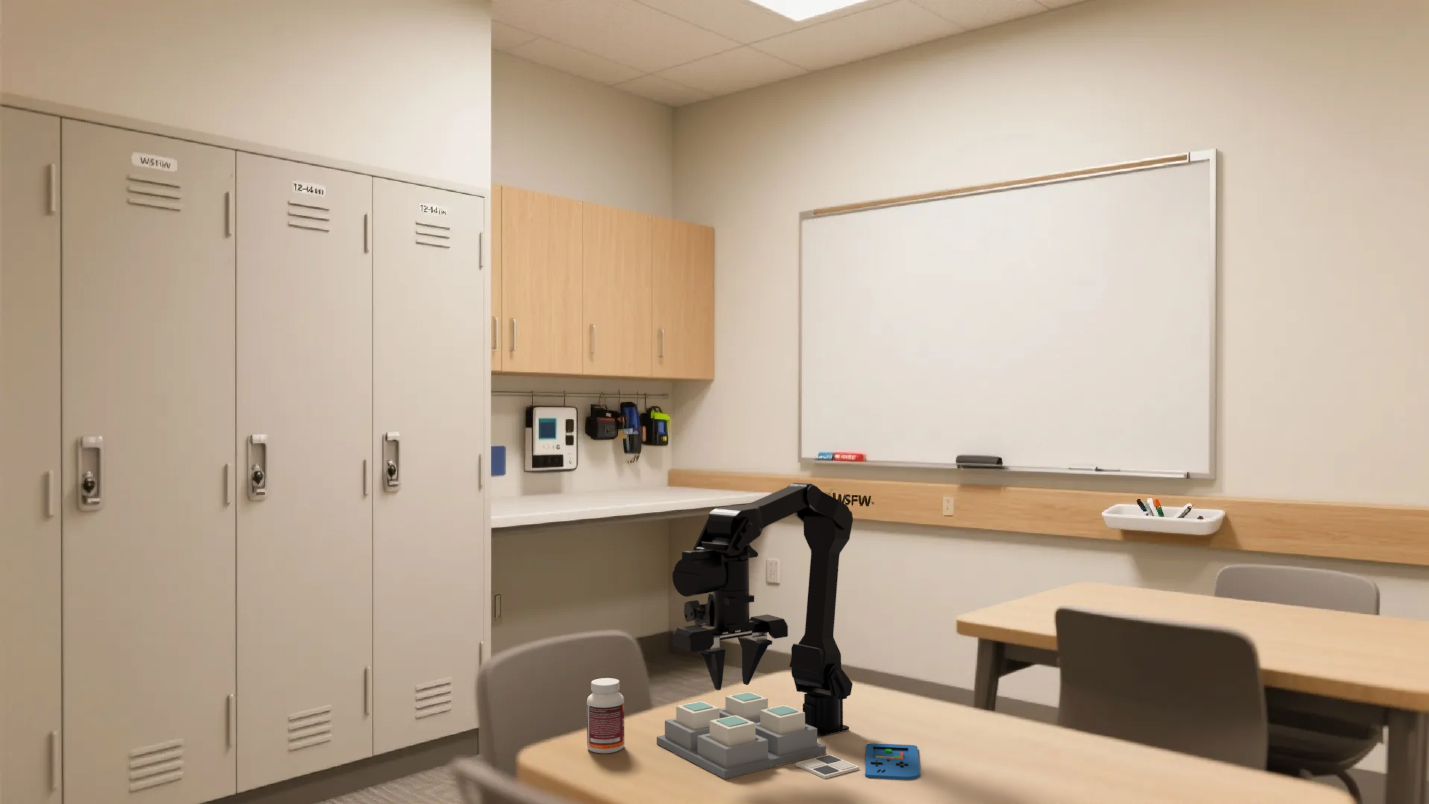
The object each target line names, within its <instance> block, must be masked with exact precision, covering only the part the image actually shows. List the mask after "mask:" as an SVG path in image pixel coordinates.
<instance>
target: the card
mask: <svg viewBox="0 0 1429 804" xmlns="http://www.w3.org/2000/svg"><path fill="white" fill-rule="evenodd" d="M795 766H797V767H798V768H800V769H802V770H805V771H807V772H809V773H812V774H814V775H816V776H818V777H819V778H823V779H824V780H825V779H828V778H832V777H836V776H839V775H843V774H847V773H850V772H855V771H859V770H860V766H858V765H856V764H853V763H851V762H849V761H846V760H844V759H843V758H842V759H841V758H839V757H837V756H835V755H832V754H824V755H820V756H816V757H812V758H808V759H806V760H805V759H804V760H803V761H801V760H800V761H796V762H795Z"/></svg>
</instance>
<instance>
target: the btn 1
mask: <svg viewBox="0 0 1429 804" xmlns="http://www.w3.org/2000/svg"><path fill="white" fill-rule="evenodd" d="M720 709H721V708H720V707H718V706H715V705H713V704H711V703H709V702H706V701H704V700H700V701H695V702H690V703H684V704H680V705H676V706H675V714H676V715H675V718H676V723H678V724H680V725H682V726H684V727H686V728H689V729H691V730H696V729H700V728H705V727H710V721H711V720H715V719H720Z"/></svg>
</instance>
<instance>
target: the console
mask: <svg viewBox="0 0 1429 804" xmlns="http://www.w3.org/2000/svg"><path fill="white" fill-rule="evenodd" d="M730 716H733V715H731V714H728V713H726V707H724V708H720V718H725V717H730ZM747 720H749V721H751V722H754V723H755V741H751V742H746V743H742V744H738V745H733V746H729V747H727V746H725V745H723V744H721V743H718V742H716V741H714V740H712V739H710V727H705V728H700V729H696V730H691V729H689V728H686V727H684V726H682V725H680V724H678V723H676V717H673V718H670V719H664V735H659V736H656V745H658V746H660V747H662V748H664V749H666V750H668V751H669V752H671V753H673V754H675V755H677V756H679V757H681V758H683V759H685V760H686V761H689V762H691V763H693V764H695V765H697V766H698V767H700V768H702V769H704V770H706V771H708V772H710V773H712V774H713V775H716V776H717V777H720V778H722V779H724V780H727V779H730V778H735V777H739V776H743V775H747V774H751V773H754V772H758V771H763V770H767V769H771V768H775V767H778V766H782V765H787V764H791V763H793V762H795V763H796V762H800V761H801V760H803V761H804V760H805V759H806V760H808V759H812V758H816V757H820V756H824V755H827V746H826V745H824V744H823V743H822V744H821V743H819V742H818V735H817V728H815V727H812V726H810V725H807V724H805V729H803V730H799V731H794V732H790V733H785V734H781V735H778V734H776V733H773V732H771V731H769V730H766V729H764V728H761V727H760V716H757V717H752V718H747Z"/></svg>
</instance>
